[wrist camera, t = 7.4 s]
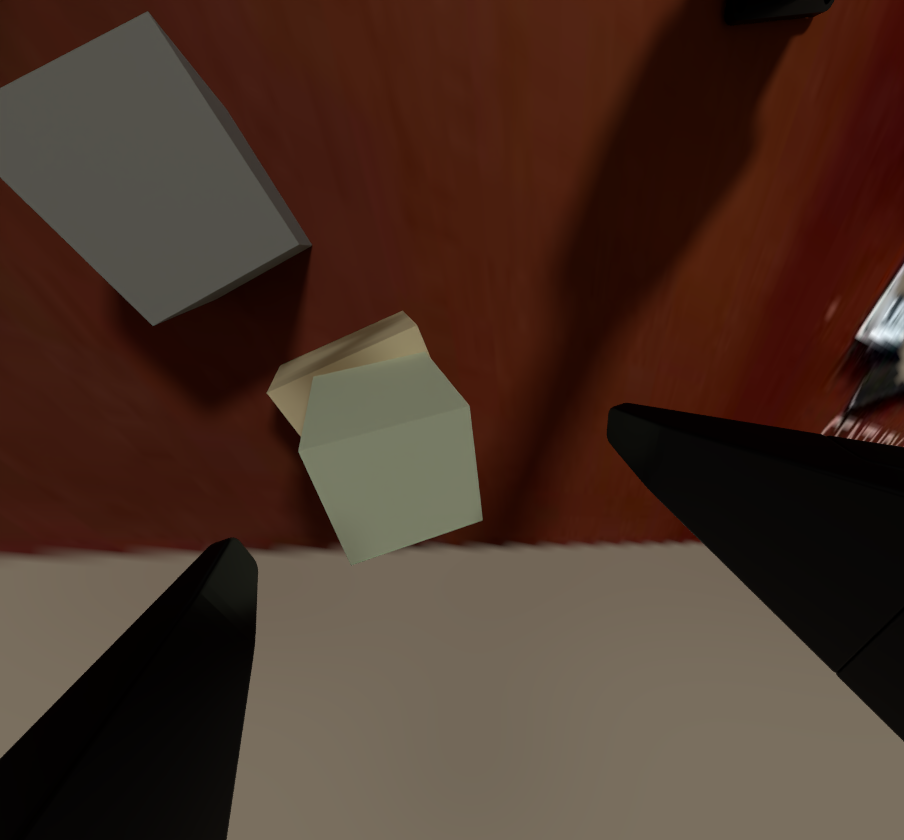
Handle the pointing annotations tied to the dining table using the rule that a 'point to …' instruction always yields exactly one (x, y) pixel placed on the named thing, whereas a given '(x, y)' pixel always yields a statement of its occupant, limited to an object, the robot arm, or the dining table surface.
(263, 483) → the dining table surface
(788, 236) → the dining table surface
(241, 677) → the robot arm
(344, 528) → the sage block
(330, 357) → the maple base
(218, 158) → the grey block
